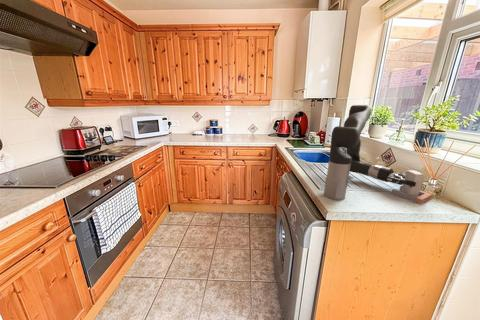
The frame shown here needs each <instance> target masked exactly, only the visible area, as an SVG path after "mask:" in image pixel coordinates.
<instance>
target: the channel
mask: <svg viewBox="0 0 480 320" xmlns="http://www.w3.org/2000/svg"><path fill="white" fill-rule="evenodd" d="M399 186H400V187H399V190H397V189H391V191H390V195H393V196H397V197H400V198H403V199H405V200H408V201H411V202H414V203H417V204H420V205H422V204H423V203H425V202H427V201H428V200H430V199H431V198H432V196H433V193H430V192H427V191H423V190H420V191H419V194H418V197H416V196H413V195H410V194H407V193H404V192H401V189H402V185H399Z"/></svg>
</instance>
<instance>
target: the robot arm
mask: <svg viewBox="0 0 480 320" xmlns="http://www.w3.org/2000/svg"><path fill="white" fill-rule="evenodd" d="M371 115H372V106H370V105H368V104H357V105H356V104H355V105H354V104H353V105H351V106H350V107H349V111H348V117H347V118H346V119H345V121H344V123H343V126H338V125H337V126H334V127H333V129H332V132H331V139H330V149H329V158H328V163H327V164H328V166H327V171H326V177H325V182H324V183H325V184H324V190H323V196H325V197H326V198H329V199H332V200H334V201H337V200H339V201H340V200H345V199H346V195H347V189H348V182H349V176H350V172H351V173H356V174H360V175H363V176H366V177H370V178H372V179H374V180H378V181H382V182H385V183H392V184H395V185H399V186H402V185H409V186H413V187H415V186H416V182H413V181H409V180H406V179H405V175H406V172H405V173H404V172H394V169H393V168H391V167H387V166H384V165H383V166H382V165H379V164H372V163H368V162H361V157H360V150H361V145H362V141H361V135H362V131H363V130H364V128H365V127H366V123H367V122H368V121H369V119H370V117H371ZM341 148H344V149H346V152H344V151H342V150H341Z"/></svg>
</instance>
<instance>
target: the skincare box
mask: <svg viewBox="0 0 480 320" xmlns="http://www.w3.org/2000/svg"><path fill="white" fill-rule="evenodd" d="M405 174H406V175H405V179H406V180H409V181H413V182H416V186H415V187H413V186H409V185H403V184H402V185H401V186H402V189H401V190H400V191H401V192H404V193H407V194H410V195H413V196H416V197H419V195H418V194H419V191H421V189H422V185H423V182H424V179H425V174H424V173H421V172H419V171H417V170H409V169H408V170H406V172H405Z"/></svg>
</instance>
